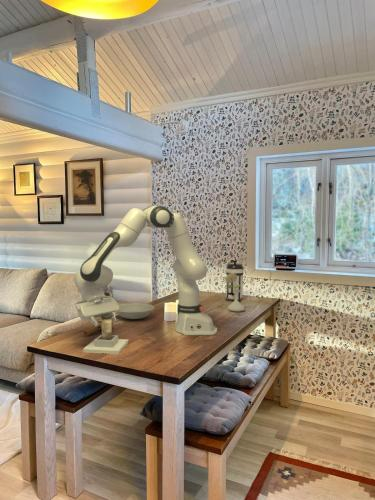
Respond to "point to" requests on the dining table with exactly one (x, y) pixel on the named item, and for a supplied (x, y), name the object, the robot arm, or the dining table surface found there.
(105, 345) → the holder
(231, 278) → the flower in vase
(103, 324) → the peg
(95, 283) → the robot arm
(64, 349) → the dining table surface
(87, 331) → the kendama
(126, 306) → the soup bowl
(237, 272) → the coffee press
